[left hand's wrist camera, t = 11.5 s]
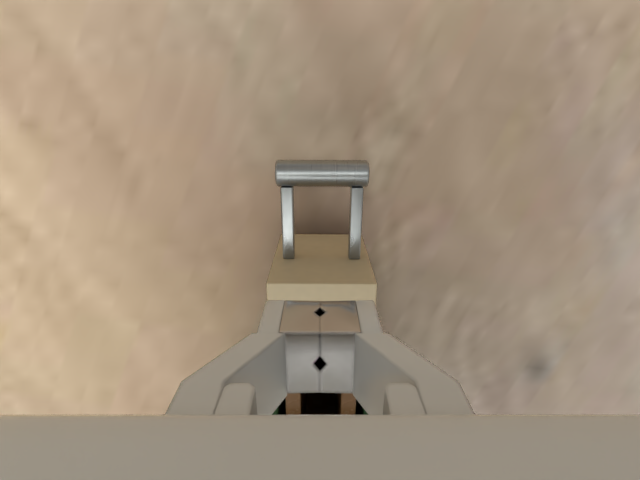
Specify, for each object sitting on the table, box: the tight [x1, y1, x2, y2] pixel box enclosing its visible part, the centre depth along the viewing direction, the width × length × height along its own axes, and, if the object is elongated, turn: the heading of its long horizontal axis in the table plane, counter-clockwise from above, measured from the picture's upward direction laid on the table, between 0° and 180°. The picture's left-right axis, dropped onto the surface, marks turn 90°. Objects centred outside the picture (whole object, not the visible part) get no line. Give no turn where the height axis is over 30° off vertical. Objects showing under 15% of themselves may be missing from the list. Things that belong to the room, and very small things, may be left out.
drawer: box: [266, 160, 377, 415], centre depth 21 cm, size 22×5×6 cm, turn 0°
